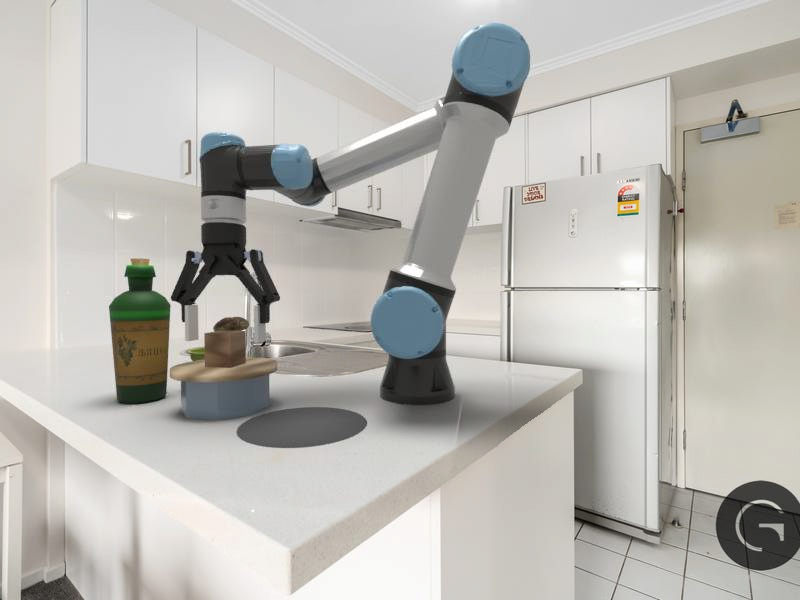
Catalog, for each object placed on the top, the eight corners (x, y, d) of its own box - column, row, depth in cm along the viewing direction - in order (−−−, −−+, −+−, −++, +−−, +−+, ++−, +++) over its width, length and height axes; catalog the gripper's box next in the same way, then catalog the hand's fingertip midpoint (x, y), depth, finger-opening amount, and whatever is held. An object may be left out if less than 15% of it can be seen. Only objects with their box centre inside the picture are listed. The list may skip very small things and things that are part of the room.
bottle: (115, 409, 78) (112, 256, 78) (106, 398, 86) (104, 259, 86) (178, 399, 85) (176, 258, 85) (165, 390, 94) (163, 261, 93)
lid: (293, 364, 85) (293, 328, 85) (245, 384, 68) (244, 338, 67) (211, 361, 88) (210, 327, 88) (144, 380, 71) (143, 336, 71)
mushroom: (248, 377, 107) (247, 317, 106) (210, 379, 104) (209, 318, 104) (250, 370, 116) (249, 315, 115) (215, 372, 113) (214, 315, 113)
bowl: (279, 401, 84) (279, 365, 84) (240, 423, 70) (240, 381, 70) (214, 398, 86) (214, 363, 86) (164, 419, 73) (164, 378, 72)
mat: (379, 412, 76) (379, 410, 76) (345, 456, 56) (345, 452, 56) (274, 407, 80) (274, 404, 80) (207, 446, 60) (207, 442, 60)
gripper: (147, 222, 76) (149, 342, 76) (278, 218, 71) (280, 345, 72) (177, 228, 83) (178, 337, 84) (297, 224, 79) (298, 340, 79)
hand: (225, 341), depth 78 cm, fingers open, 13 cm apart
